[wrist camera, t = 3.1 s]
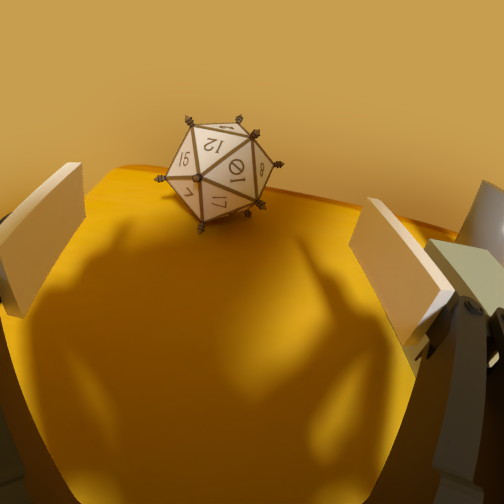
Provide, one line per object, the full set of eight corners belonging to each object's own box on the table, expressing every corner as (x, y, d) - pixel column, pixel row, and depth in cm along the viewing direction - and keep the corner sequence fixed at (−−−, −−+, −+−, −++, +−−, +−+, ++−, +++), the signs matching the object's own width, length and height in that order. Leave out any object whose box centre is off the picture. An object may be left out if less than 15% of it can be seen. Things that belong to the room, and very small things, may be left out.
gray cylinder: (498, 297, 22) (542, 220, 17) (465, 297, 21) (514, 206, 16) (468, 261, 27) (503, 189, 22) (433, 256, 26) (471, 174, 21)
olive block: (482, 378, 14) (538, 311, 11) (421, 394, 13) (489, 315, 10) (446, 315, 19) (487, 249, 16) (386, 316, 18) (429, 238, 15)
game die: (208, 241, 28) (241, 143, 29) (281, 260, 22) (316, 138, 23) (122, 210, 21) (169, 96, 22) (181, 222, 16) (241, 68, 16)
